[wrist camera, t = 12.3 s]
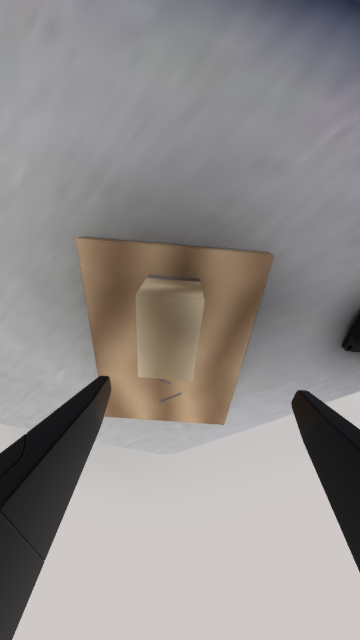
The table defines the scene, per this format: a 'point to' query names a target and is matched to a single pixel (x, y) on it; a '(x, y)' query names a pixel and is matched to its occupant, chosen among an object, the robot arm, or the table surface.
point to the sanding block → (168, 326)
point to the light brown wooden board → (215, 334)
